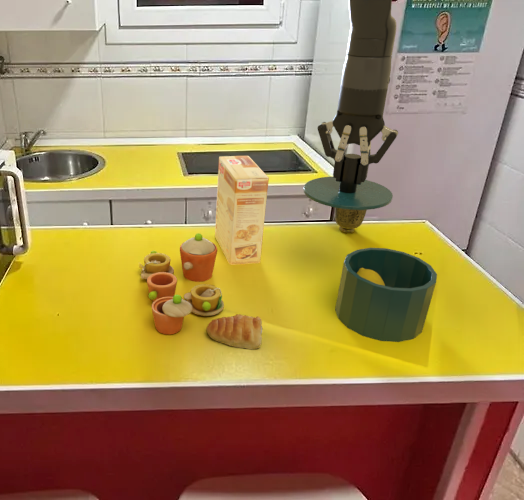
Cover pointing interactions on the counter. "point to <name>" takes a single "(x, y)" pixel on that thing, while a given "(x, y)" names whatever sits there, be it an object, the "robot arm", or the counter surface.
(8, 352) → the counter surface
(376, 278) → the lemon
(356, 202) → the lid
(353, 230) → the cup
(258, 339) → the pastry
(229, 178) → the coffeecake box
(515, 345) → the counter surface
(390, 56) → the robot arm
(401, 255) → the pot
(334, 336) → the counter surface
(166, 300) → the toy tea set
